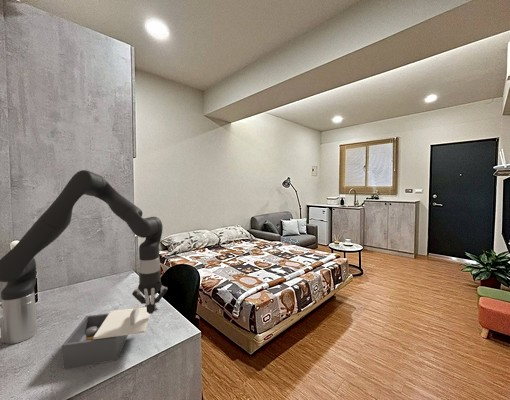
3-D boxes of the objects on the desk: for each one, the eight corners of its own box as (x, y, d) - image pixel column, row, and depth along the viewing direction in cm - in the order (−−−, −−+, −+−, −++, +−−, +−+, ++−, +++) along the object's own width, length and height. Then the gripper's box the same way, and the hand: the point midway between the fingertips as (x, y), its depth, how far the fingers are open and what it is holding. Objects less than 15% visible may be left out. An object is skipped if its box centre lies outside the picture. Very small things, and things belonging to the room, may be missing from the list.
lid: (93, 339, 81) (92, 325, 81) (110, 312, 97) (110, 301, 97) (144, 332, 85) (144, 319, 84) (152, 308, 101) (152, 297, 101)
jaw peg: (85, 351, 87) (84, 333, 86) (88, 345, 90) (87, 327, 90) (97, 348, 88) (95, 331, 88) (99, 342, 92) (98, 325, 91)
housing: (63, 368, 79) (61, 345, 78) (87, 334, 96) (86, 315, 96) (116, 360, 83) (115, 338, 82) (130, 329, 100) (129, 310, 100)
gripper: (169, 264, 97) (169, 305, 98) (133, 267, 94) (134, 309, 95) (166, 271, 90) (167, 315, 91) (128, 274, 87) (129, 320, 88)
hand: (150, 312), depth 93 cm, fingers closed
